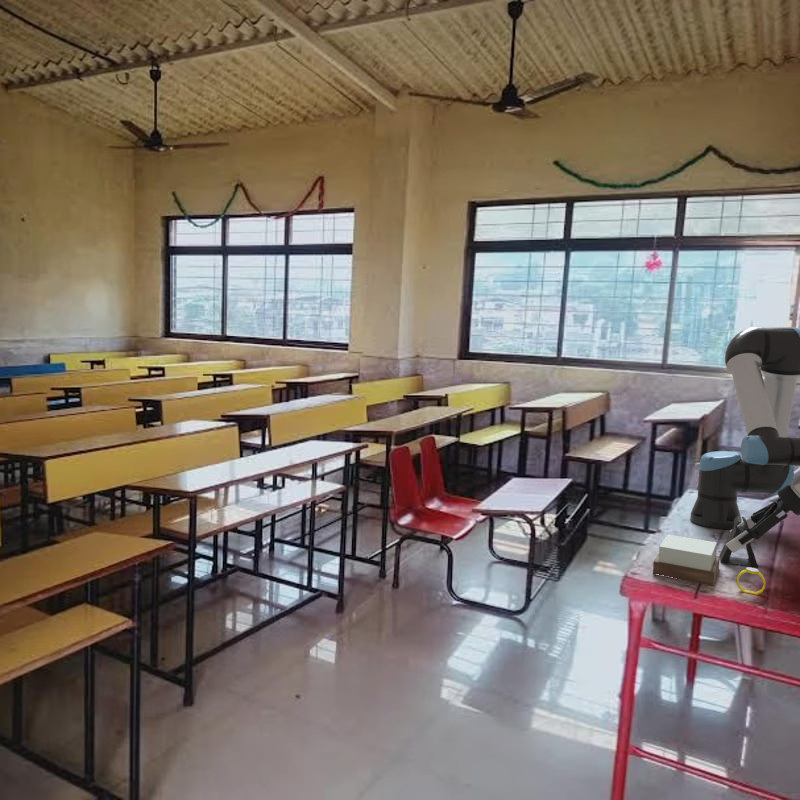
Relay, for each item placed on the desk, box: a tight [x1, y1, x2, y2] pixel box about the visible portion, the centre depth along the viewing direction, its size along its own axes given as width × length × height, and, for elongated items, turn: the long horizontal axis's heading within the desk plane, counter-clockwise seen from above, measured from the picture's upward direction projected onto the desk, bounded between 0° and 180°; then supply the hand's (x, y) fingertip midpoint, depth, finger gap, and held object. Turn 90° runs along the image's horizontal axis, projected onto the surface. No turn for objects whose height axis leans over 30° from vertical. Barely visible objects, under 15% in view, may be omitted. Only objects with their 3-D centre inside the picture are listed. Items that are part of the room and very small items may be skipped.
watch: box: [736, 567, 766, 596], centre depth 155 cm, size 6×3×6 cm, turn 61°
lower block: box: [652, 553, 720, 587], centre depth 169 cm, size 14×14×4 cm
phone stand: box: [718, 516, 759, 569], centre depth 176 cm, size 9×6×12 cm, turn 66°
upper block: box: [658, 534, 718, 571], centre depth 168 cm, size 12×12×4 cm
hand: (731, 541), depth 177 cm, fingers open, 13 cm apart
